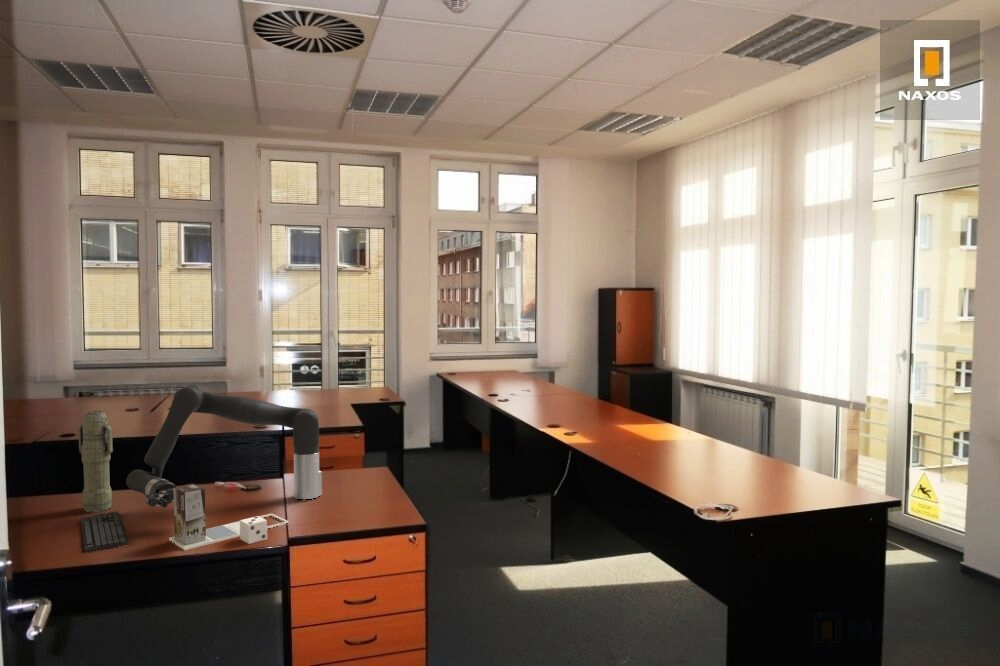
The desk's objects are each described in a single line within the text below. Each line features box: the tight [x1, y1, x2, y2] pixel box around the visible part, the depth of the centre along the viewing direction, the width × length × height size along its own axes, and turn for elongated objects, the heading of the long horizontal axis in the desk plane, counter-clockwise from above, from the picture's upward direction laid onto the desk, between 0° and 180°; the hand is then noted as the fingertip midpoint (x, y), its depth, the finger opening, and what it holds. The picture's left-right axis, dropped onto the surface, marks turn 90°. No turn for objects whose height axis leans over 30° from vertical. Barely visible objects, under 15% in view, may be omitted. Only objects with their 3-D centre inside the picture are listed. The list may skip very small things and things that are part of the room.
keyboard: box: [80, 510, 129, 553], centre depth 222 cm, size 35×11×2 cm, turn 33°
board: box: [169, 513, 290, 551], centre depth 222 cm, size 34×12×1 cm, turn 136°
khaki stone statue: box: [77, 410, 114, 512], centre depth 245 cm, size 9×12×35 cm
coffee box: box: [173, 483, 207, 544], centre depth 213 cm, size 9×6×16 cm
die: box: [239, 515, 268, 545], centre depth 216 cm, size 6×6×6 cm
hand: (180, 501), depth 218 cm, fingers open, 8 cm apart
